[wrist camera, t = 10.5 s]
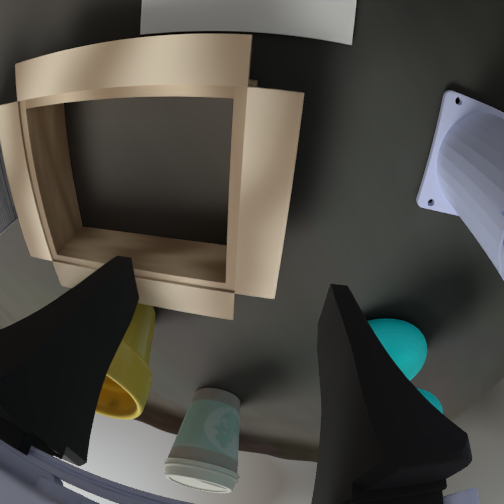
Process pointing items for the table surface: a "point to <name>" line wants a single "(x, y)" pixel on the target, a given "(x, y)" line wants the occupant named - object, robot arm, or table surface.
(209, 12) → the felt mat
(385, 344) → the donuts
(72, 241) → the carton
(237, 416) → the coffee cup
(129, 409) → the plant pot
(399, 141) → the table surface
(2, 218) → the medicine box
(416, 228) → the table surface
